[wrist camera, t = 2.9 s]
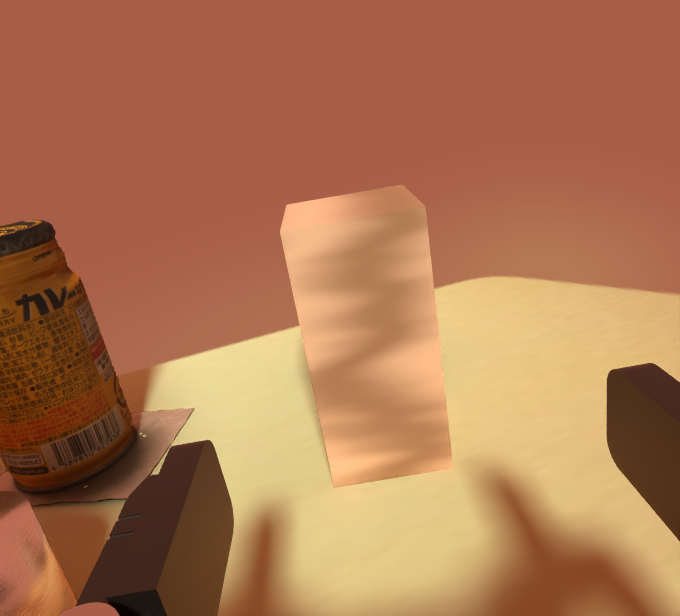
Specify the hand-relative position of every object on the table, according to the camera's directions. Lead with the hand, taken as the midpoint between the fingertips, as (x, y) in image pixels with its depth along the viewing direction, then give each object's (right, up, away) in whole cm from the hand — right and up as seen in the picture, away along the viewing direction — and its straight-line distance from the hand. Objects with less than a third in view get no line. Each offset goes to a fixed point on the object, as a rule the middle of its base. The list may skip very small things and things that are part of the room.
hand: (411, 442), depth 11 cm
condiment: (-14, -5, +17) cm, 23 cm away
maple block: (+1, -3, +14) cm, 14 cm away
